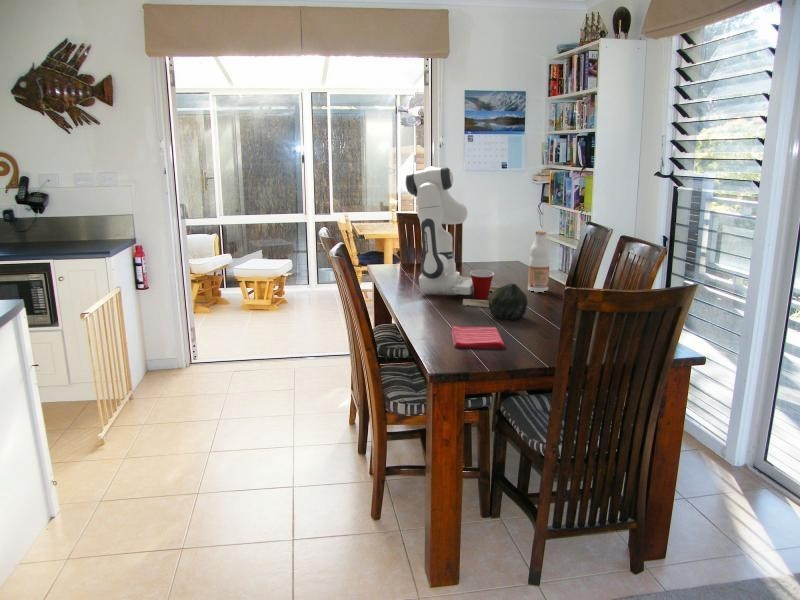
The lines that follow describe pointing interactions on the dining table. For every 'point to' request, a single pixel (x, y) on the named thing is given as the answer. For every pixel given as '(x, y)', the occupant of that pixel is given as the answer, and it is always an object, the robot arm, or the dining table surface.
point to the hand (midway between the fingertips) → (484, 287)
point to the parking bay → (479, 302)
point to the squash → (508, 302)
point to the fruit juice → (539, 264)
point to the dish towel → (477, 337)
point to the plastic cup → (481, 283)
